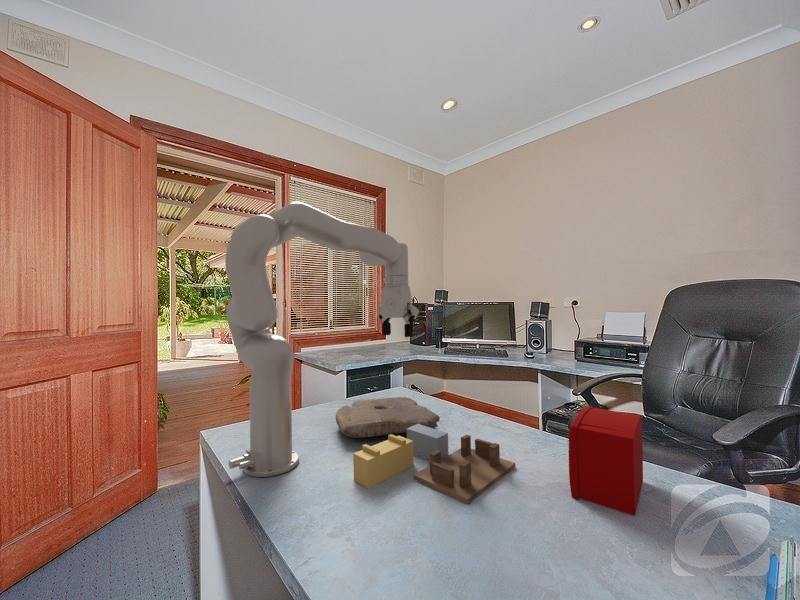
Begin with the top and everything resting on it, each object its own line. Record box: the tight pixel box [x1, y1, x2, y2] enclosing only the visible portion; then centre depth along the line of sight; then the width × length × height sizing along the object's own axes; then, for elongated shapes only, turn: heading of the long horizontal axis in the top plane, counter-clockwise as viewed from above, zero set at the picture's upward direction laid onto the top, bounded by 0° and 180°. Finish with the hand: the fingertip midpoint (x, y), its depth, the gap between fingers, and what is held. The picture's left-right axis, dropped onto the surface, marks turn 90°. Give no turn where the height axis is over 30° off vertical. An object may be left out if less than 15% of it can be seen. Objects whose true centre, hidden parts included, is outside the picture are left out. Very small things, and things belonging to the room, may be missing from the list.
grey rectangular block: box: [406, 424, 449, 461], centre depth 89 cm, size 4×10×6 cm, turn 46°
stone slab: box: [335, 396, 440, 439], centre depth 111 cm, size 31×29×6 cm
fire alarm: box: [568, 405, 644, 517], centre depth 71 cm, size 16×11×15 cm
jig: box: [412, 434, 516, 505], centre depth 78 cm, size 20×14×6 cm
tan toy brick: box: [352, 434, 415, 489], centre depth 80 cm, size 14×5×7 cm, turn 134°
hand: (397, 335), depth 110 cm, fingers open, 9 cm apart
